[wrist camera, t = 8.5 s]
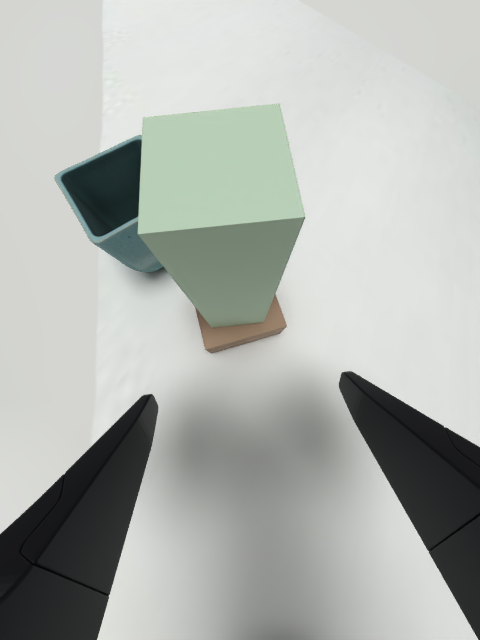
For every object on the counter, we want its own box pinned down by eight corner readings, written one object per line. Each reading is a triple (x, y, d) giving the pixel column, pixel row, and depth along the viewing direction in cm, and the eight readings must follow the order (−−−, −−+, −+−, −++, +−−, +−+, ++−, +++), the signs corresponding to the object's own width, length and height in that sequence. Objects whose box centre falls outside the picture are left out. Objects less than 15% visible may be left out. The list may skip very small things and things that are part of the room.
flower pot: (115, 242, 25) (49, 173, 16) (173, 210, 26) (141, 131, 18) (147, 292, 23) (91, 244, 15) (208, 255, 24) (190, 191, 16)
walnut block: (279, 334, 22) (286, 325, 18) (211, 353, 22) (205, 349, 18) (258, 274, 24) (261, 255, 20) (196, 290, 24) (187, 274, 20)
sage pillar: (263, 322, 18) (305, 217, 6) (211, 327, 18) (137, 234, 6) (257, 275, 20) (279, 103, 7) (208, 280, 20) (142, 117, 7)
